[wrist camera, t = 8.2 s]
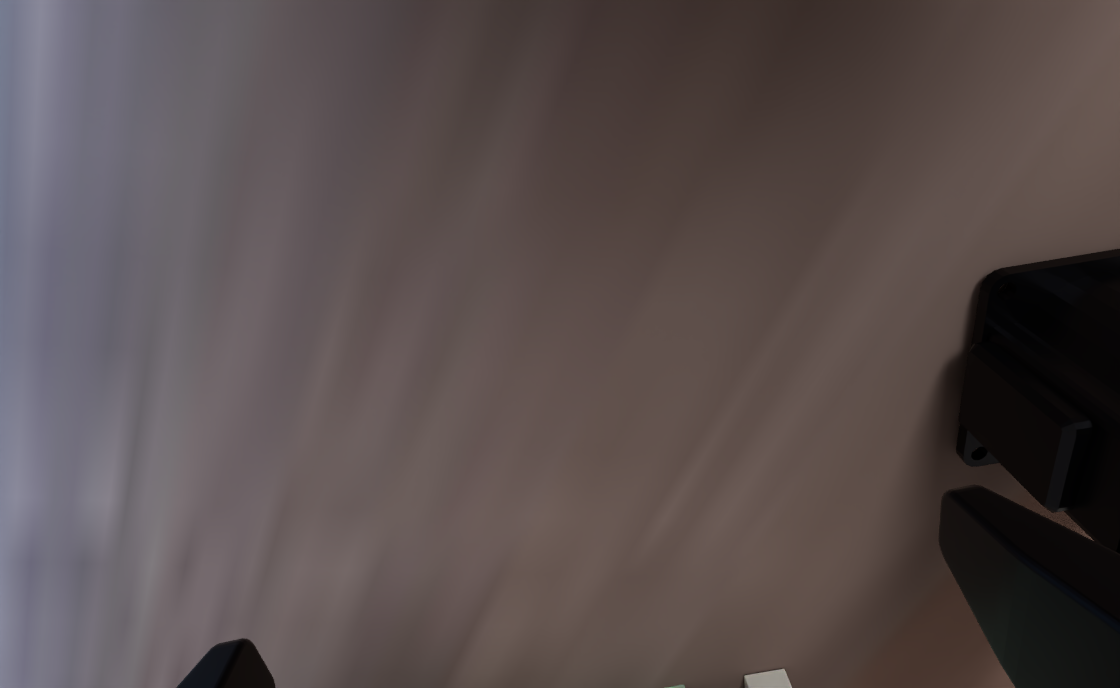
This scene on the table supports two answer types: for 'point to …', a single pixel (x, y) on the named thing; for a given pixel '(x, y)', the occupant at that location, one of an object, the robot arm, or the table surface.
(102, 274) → the table surface
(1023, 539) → the robot arm
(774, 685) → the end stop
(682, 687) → the bar
